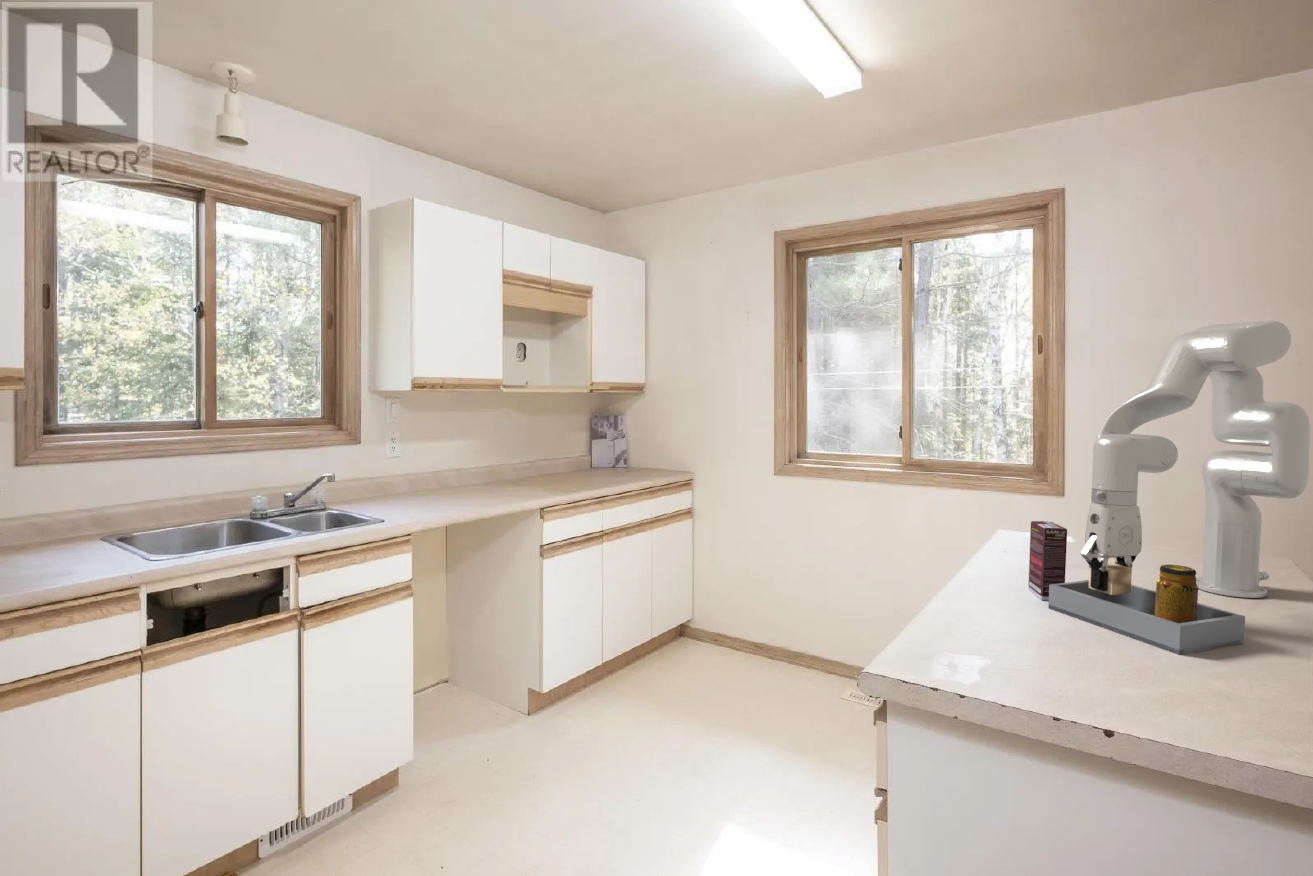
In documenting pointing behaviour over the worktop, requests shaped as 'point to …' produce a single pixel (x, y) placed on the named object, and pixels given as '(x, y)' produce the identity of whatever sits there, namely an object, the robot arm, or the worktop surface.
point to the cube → (1116, 579)
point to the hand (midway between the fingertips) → (1109, 587)
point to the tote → (1147, 618)
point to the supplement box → (1046, 557)
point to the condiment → (1176, 594)
